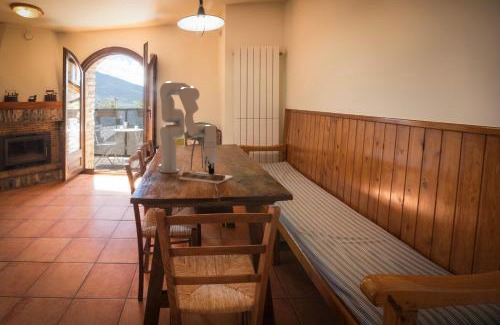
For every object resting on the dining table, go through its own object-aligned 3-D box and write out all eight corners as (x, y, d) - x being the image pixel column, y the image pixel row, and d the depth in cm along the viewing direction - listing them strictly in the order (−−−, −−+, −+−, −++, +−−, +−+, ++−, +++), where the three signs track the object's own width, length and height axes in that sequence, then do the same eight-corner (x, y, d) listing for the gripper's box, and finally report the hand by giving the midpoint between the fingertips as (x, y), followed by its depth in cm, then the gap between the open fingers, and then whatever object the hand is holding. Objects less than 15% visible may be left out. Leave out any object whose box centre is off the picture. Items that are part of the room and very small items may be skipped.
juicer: (205, 171, 255) (205, 127, 250) (190, 170, 257) (190, 127, 252) (210, 168, 265) (210, 126, 260) (195, 167, 267) (194, 126, 262)
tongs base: (182, 176, 230) (182, 172, 229) (185, 175, 233) (185, 171, 232) (219, 181, 219) (219, 176, 219) (222, 180, 222) (222, 175, 221)
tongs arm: (191, 176, 231) (191, 173, 231) (193, 175, 234) (193, 172, 233) (223, 179, 223) (223, 176, 223) (225, 178, 226) (225, 175, 225)
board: (179, 179, 228) (179, 177, 228) (196, 173, 246) (196, 172, 246) (217, 183, 217) (217, 182, 217) (233, 177, 235) (233, 175, 235)
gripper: (211, 143, 236) (212, 172, 239) (198, 146, 222) (200, 176, 225) (221, 144, 233) (222, 172, 236) (209, 146, 219) (210, 176, 222)
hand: (211, 174), depth 230 cm, fingers closed
